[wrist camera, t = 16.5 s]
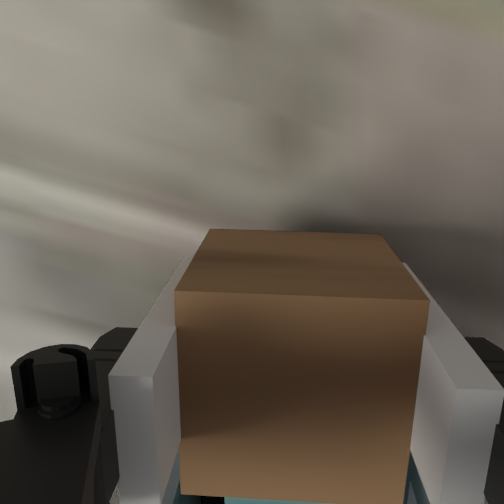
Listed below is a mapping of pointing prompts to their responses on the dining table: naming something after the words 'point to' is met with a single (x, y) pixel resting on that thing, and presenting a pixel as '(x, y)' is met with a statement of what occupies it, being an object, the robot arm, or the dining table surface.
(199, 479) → the walnut block
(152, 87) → the dining table surface
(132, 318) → the dining table surface
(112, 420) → the robot arm
